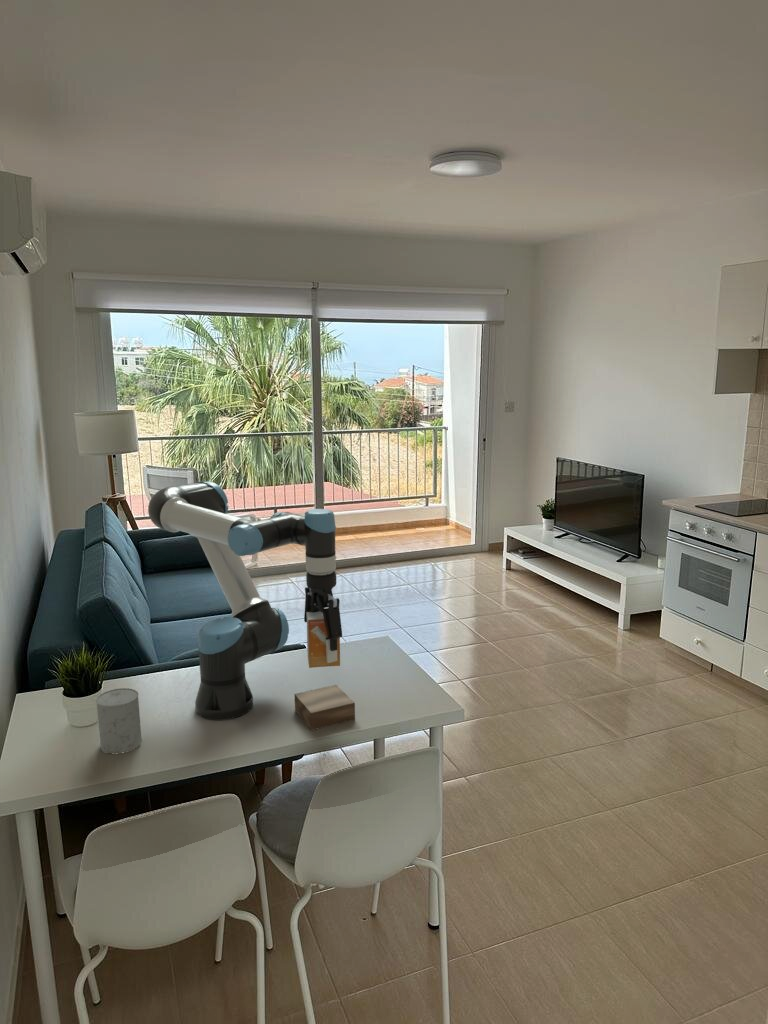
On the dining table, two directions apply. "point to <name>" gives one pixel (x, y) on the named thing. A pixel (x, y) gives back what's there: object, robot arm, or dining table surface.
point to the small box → (318, 641)
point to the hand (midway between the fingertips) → (323, 655)
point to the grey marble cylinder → (119, 720)
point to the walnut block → (324, 707)
